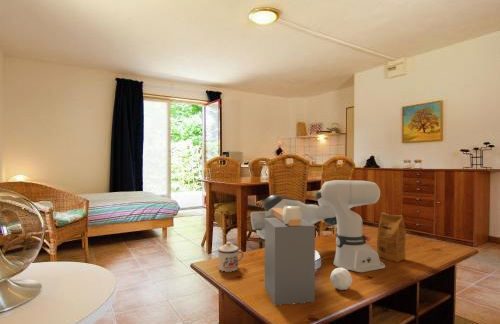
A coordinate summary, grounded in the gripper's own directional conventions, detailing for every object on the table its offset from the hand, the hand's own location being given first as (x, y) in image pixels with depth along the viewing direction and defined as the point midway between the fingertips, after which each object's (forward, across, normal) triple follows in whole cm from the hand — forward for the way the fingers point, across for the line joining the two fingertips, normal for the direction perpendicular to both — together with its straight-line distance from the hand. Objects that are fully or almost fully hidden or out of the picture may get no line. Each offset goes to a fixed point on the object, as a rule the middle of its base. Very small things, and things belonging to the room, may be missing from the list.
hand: (278, 211), depth 116 cm
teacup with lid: (-28, +17, -16) cm, 36 cm away
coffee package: (-27, -62, -17) cm, 70 cm away
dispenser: (-2, 0, -31) cm, 31 cm away
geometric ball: (-3, -21, -30) cm, 37 cm away
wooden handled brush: (+6, 0, -5) cm, 8 cm away
